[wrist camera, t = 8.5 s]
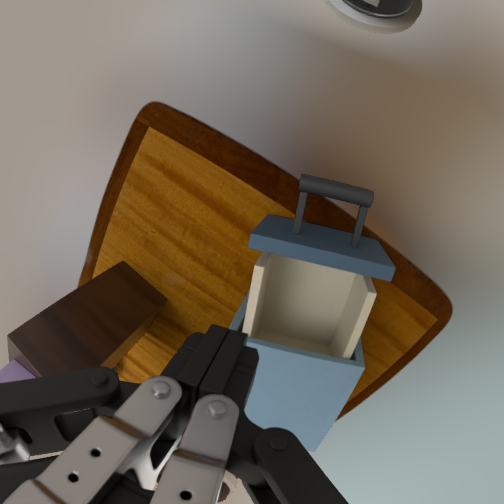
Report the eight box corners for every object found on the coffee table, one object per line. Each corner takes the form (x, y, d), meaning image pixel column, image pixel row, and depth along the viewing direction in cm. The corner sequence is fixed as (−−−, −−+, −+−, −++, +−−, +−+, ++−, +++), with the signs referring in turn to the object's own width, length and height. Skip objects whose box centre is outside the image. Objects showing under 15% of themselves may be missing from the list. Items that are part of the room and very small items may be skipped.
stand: (122, 260, 36) (6, 335, 17) (167, 298, 36) (66, 400, 18) (105, 298, 39) (10, 372, 20) (145, 333, 39) (60, 425, 21)
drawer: (276, 165, 27) (261, 168, 20) (389, 192, 25) (414, 205, 18) (246, 325, 34) (227, 367, 26) (339, 347, 32) (341, 393, 25)
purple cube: (13, 358, 19) (-16, 382, 14) (41, 380, 18) (10, 409, 14) (27, 389, 20) (2, 412, 16) (55, 410, 19) (29, 437, 15)
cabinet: (249, 288, 33) (224, 335, 24) (356, 313, 31) (365, 367, 22) (233, 377, 38) (211, 427, 29) (319, 398, 36) (314, 452, 27)
